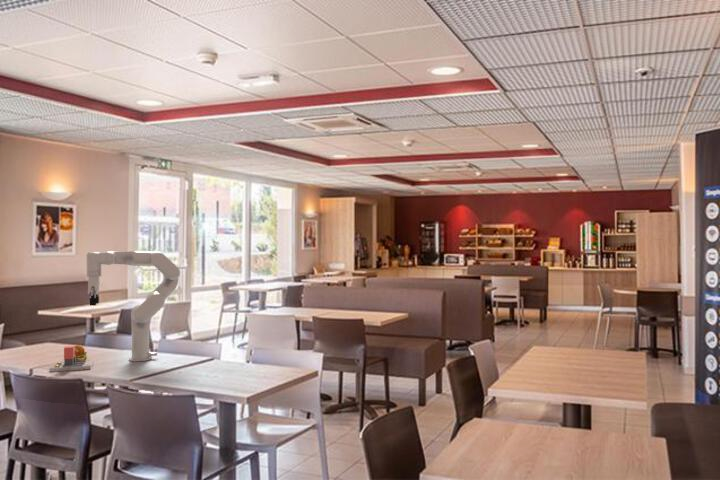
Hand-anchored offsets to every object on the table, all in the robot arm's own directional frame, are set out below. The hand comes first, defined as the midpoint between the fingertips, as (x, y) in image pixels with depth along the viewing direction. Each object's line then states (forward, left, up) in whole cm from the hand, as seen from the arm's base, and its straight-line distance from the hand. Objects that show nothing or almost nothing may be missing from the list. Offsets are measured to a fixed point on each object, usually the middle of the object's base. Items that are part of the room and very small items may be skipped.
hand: (94, 304), depth 344 cm
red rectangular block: (+11, +13, -27) cm, 32 cm away
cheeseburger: (+10, -10, -34) cm, 37 cm away
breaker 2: (+11, +7, -31) cm, 34 cm away
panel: (+10, +10, -33) cm, 36 cm away
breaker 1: (+11, +13, -31) cm, 35 cm away
